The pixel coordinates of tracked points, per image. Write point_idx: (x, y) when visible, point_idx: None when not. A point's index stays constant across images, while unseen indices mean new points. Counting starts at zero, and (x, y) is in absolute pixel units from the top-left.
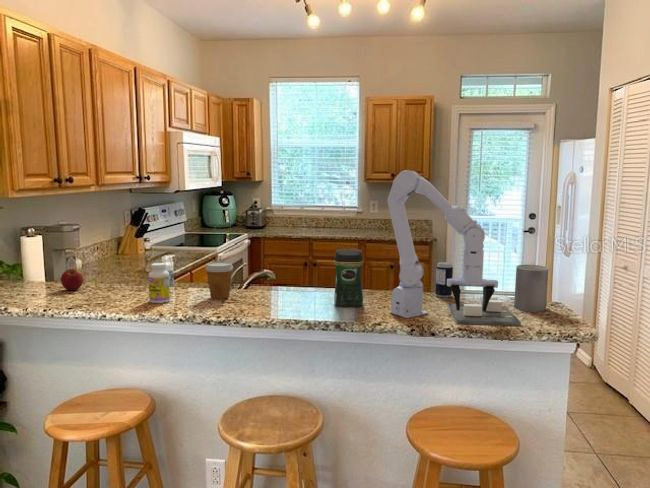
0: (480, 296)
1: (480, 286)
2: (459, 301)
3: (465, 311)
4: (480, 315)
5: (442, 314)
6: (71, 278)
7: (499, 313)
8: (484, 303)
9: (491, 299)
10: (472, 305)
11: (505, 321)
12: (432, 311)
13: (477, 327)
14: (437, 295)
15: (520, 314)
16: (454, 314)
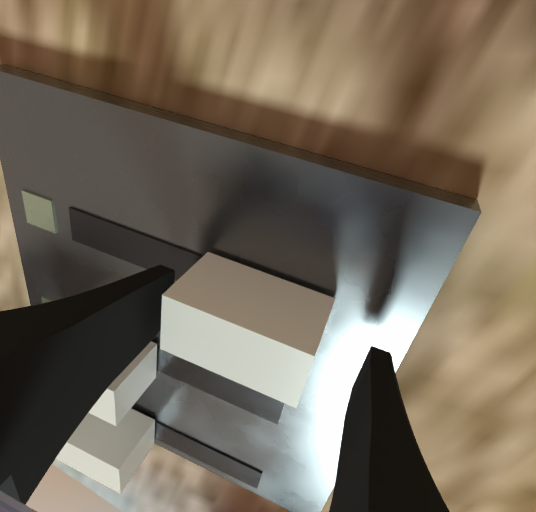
0: (121, 481)
1: (14, 505)
2: (373, 411)
3: (322, 317)
4: (214, 258)
5: (445, 422)
6: None
7: (86, 289)
8: (126, 307)
9: (76, 431)
10: (237, 344)
11: (73, 102)
12: (478, 489)
13: (335, 38)
14: None
15: (3, 285)
16: (397, 355)
